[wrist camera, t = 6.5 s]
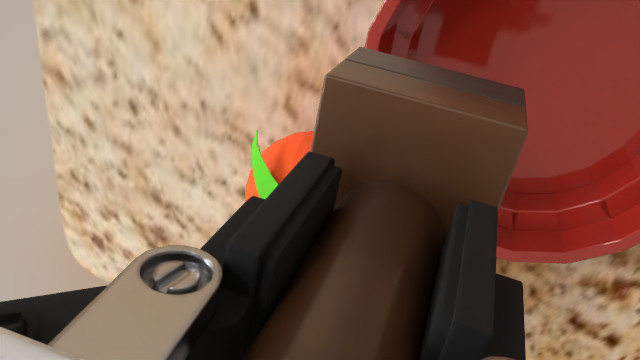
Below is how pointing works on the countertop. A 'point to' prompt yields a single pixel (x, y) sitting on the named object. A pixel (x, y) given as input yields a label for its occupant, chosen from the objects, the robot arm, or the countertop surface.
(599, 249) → the bowl
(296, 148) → the clementine
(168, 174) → the countertop surface
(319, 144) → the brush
